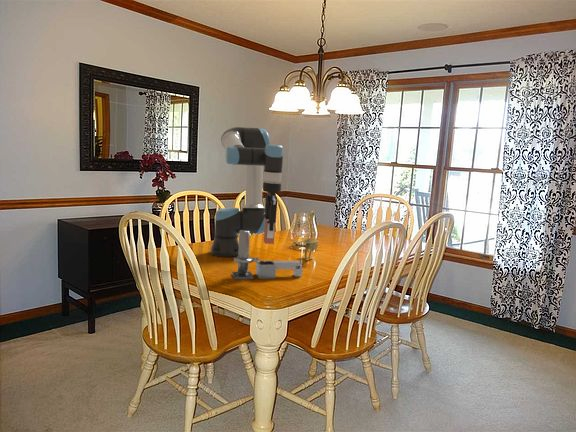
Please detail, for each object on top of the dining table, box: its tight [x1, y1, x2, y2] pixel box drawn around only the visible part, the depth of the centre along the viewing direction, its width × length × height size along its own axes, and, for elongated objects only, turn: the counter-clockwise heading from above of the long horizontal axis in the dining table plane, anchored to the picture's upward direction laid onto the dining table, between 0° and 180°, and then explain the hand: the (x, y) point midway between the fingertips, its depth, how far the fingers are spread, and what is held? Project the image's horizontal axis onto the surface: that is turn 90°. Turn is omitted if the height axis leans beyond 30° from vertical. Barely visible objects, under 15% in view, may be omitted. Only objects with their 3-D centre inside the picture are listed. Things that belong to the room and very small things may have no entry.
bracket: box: [255, 260, 303, 280], centre depth 197 cm, size 7×20×6 cm, turn 104°
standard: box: [231, 230, 260, 281], centre depth 192 cm, size 8×10×20 cm
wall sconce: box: [298, 210, 319, 262], centre depth 226 cm, size 14×10×25 cm
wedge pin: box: [263, 219, 276, 245], centre depth 192 cm, size 4×4×10 cm
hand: (269, 236), depth 192 cm, fingers closed on wedge pin, 4 cm apart
